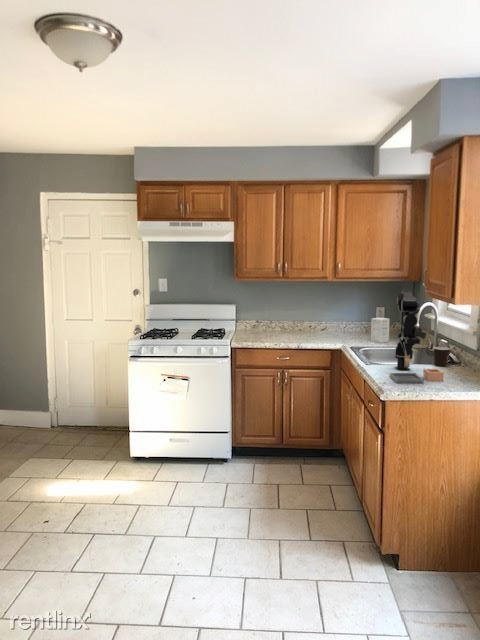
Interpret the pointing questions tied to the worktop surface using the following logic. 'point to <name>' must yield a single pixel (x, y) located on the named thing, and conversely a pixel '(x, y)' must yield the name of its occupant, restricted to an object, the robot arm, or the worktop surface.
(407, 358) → the dowel pin
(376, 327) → the supplement box
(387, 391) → the worktop surface
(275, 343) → the worktop surface
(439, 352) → the coffee mug
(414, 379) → the charcoal tray
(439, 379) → the terracotta square hollow block
